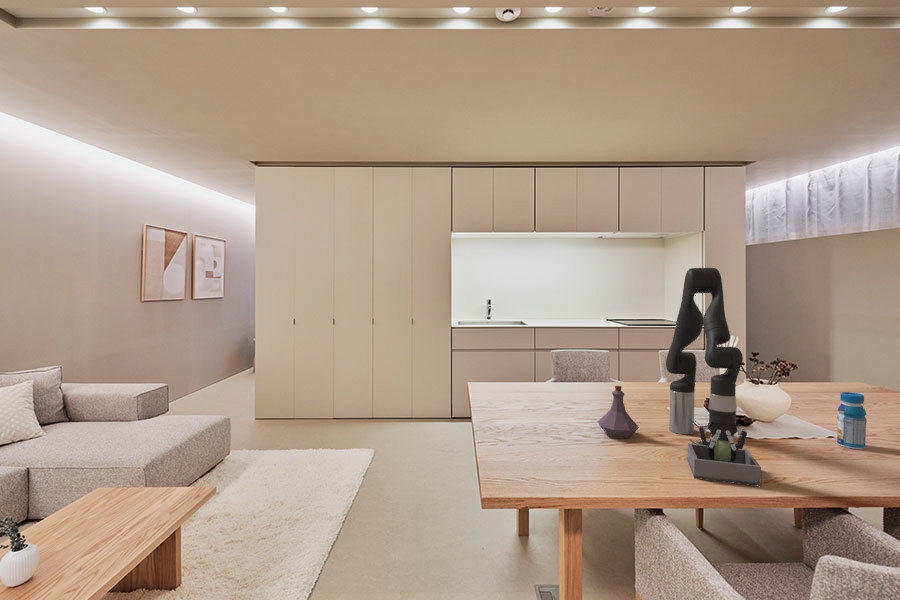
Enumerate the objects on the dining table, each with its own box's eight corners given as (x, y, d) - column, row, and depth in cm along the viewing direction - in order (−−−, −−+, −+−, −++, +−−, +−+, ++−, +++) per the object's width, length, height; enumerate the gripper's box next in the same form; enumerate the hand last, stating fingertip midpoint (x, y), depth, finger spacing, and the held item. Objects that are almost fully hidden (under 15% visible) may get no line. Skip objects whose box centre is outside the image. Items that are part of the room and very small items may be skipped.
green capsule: (711, 460, 154) (712, 436, 154) (728, 462, 153) (729, 438, 152) (714, 465, 150) (714, 441, 149) (732, 467, 148) (732, 442, 148)
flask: (601, 426, 201) (602, 380, 200) (642, 432, 192) (643, 384, 192) (592, 437, 187) (592, 387, 186) (635, 444, 178) (636, 392, 178)
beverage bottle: (855, 451, 171) (856, 397, 170) (830, 443, 179) (832, 392, 178) (871, 448, 173) (873, 395, 172) (846, 441, 181) (848, 390, 180)
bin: (687, 460, 162) (687, 443, 162) (747, 467, 156) (747, 449, 155) (694, 478, 147) (694, 459, 147) (760, 486, 141) (761, 467, 140)
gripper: (745, 407, 152) (744, 458, 152) (696, 403, 157) (695, 453, 157) (751, 413, 145) (750, 466, 145) (699, 408, 150) (698, 460, 150)
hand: (721, 459), depth 151 cm, fingers closed on green capsule, 5 cm apart
